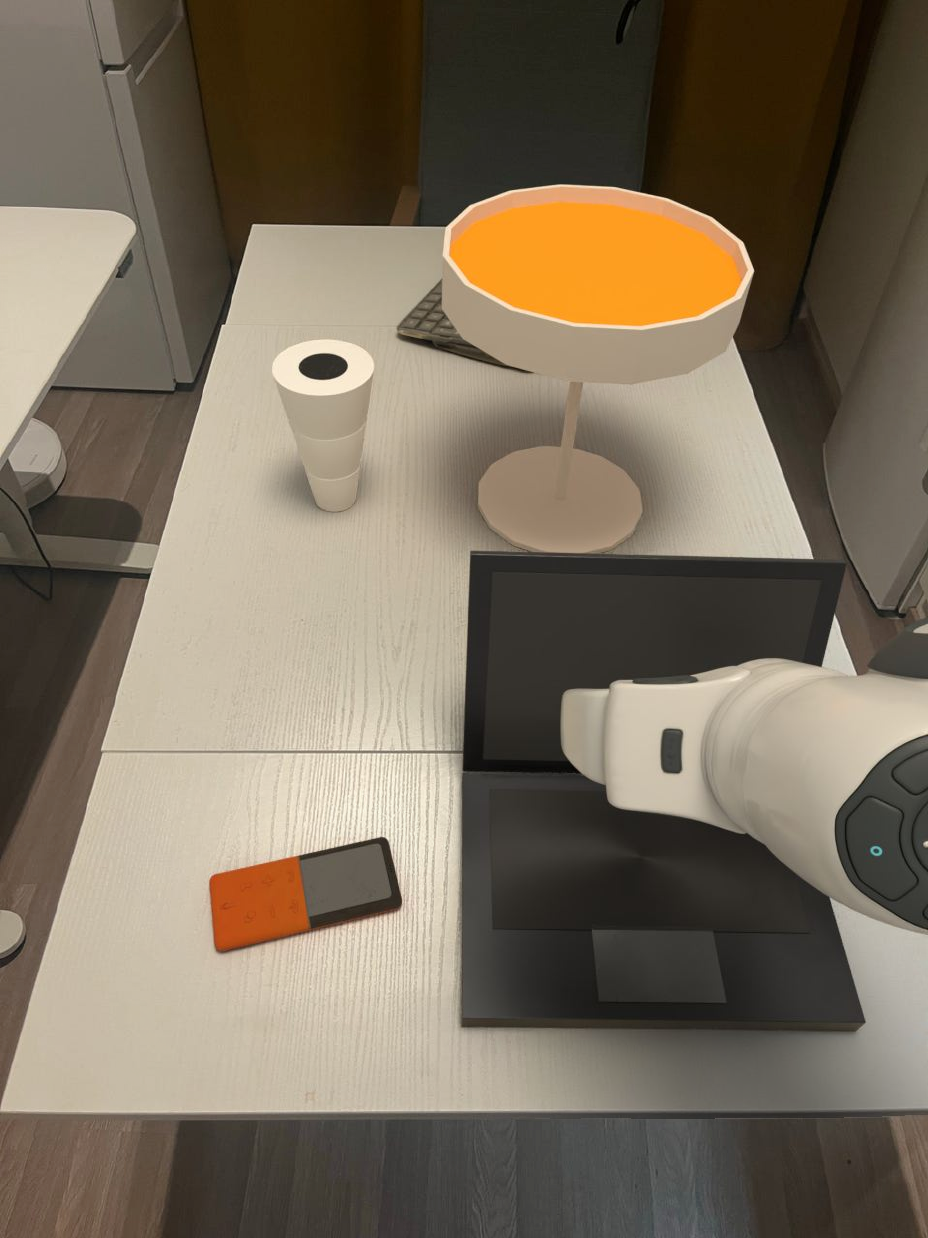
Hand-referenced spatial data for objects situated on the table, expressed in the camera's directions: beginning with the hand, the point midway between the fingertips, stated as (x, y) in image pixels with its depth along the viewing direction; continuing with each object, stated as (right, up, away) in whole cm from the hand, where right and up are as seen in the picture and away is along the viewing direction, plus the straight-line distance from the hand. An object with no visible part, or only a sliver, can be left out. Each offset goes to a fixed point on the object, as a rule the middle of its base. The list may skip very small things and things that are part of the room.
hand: (702, 709), depth 59 cm
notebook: (-1, -17, +16) cm, 23 cm away
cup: (-31, +20, +49) cm, 61 cm away
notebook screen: (-1, +1, +17) cm, 17 cm away
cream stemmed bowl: (-4, +20, +50) cm, 54 cm away
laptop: (-8, +54, +80) cm, 96 cm away
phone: (-29, -17, +15) cm, 36 cm away
